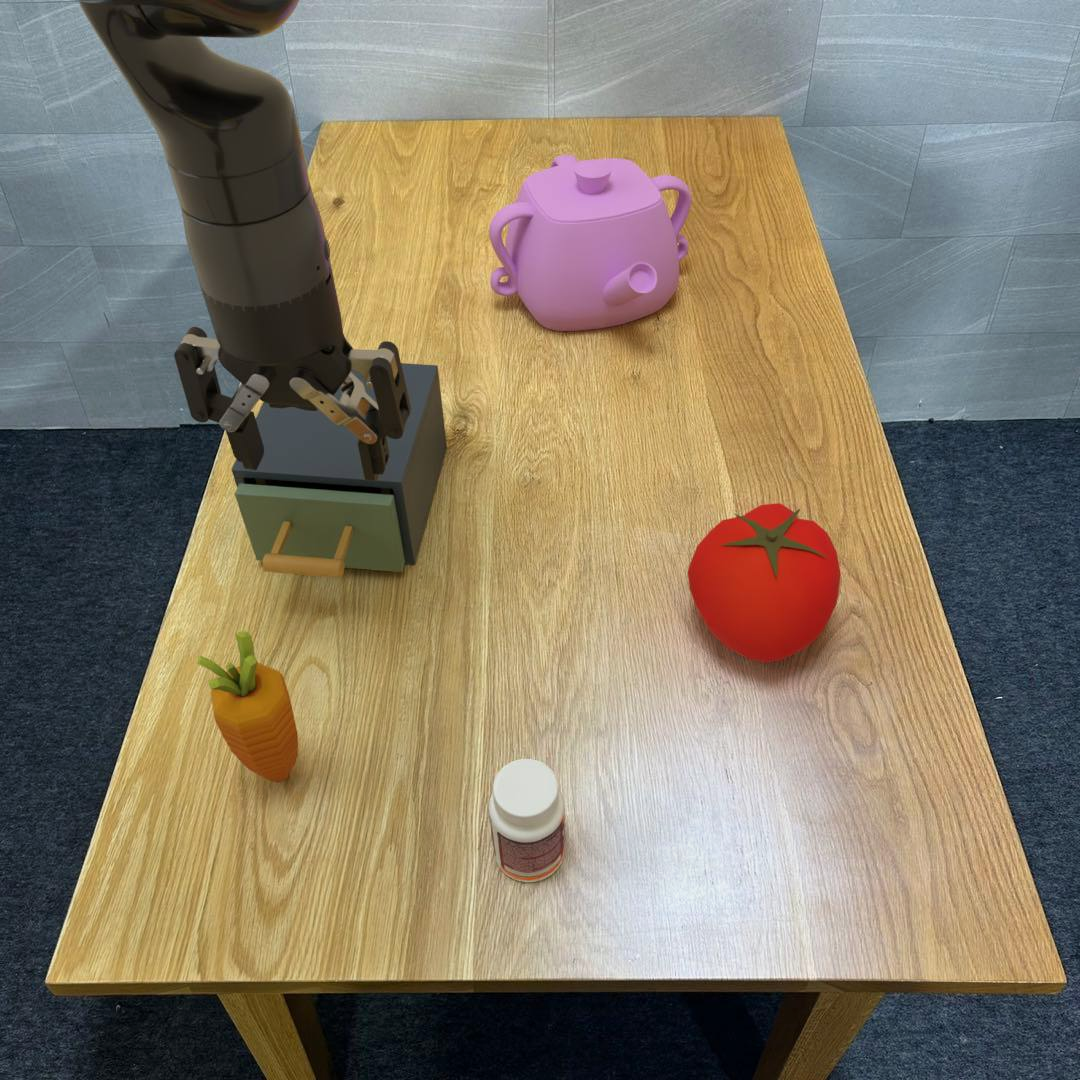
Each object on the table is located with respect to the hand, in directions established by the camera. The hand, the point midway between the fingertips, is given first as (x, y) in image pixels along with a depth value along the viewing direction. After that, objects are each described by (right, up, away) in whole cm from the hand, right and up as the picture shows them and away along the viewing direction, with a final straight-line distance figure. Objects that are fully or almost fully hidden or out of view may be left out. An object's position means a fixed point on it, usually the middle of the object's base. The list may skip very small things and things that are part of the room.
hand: (315, 467), depth 71 cm
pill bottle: (+15, -26, -2) cm, 30 cm away
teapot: (+22, +21, +41) cm, 51 cm away
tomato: (+32, -12, +10) cm, 36 cm away
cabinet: (-1, -1, +20) cm, 21 cm away
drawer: (-1, -4, +17) cm, 17 cm away
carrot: (-3, -22, +2) cm, 22 cm away
